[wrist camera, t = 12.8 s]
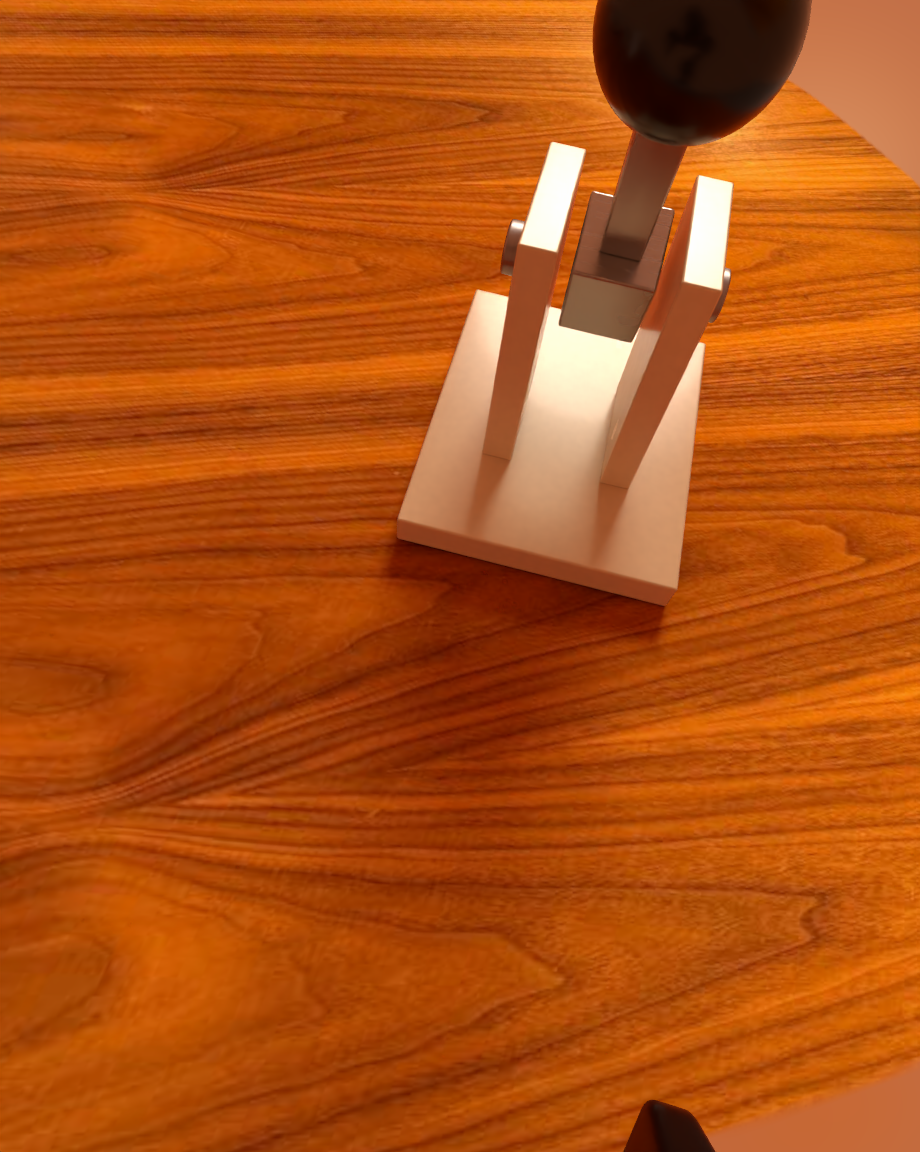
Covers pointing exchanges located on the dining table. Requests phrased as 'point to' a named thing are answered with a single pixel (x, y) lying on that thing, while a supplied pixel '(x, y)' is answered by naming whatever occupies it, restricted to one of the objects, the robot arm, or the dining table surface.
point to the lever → (668, 130)
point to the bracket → (573, 411)
